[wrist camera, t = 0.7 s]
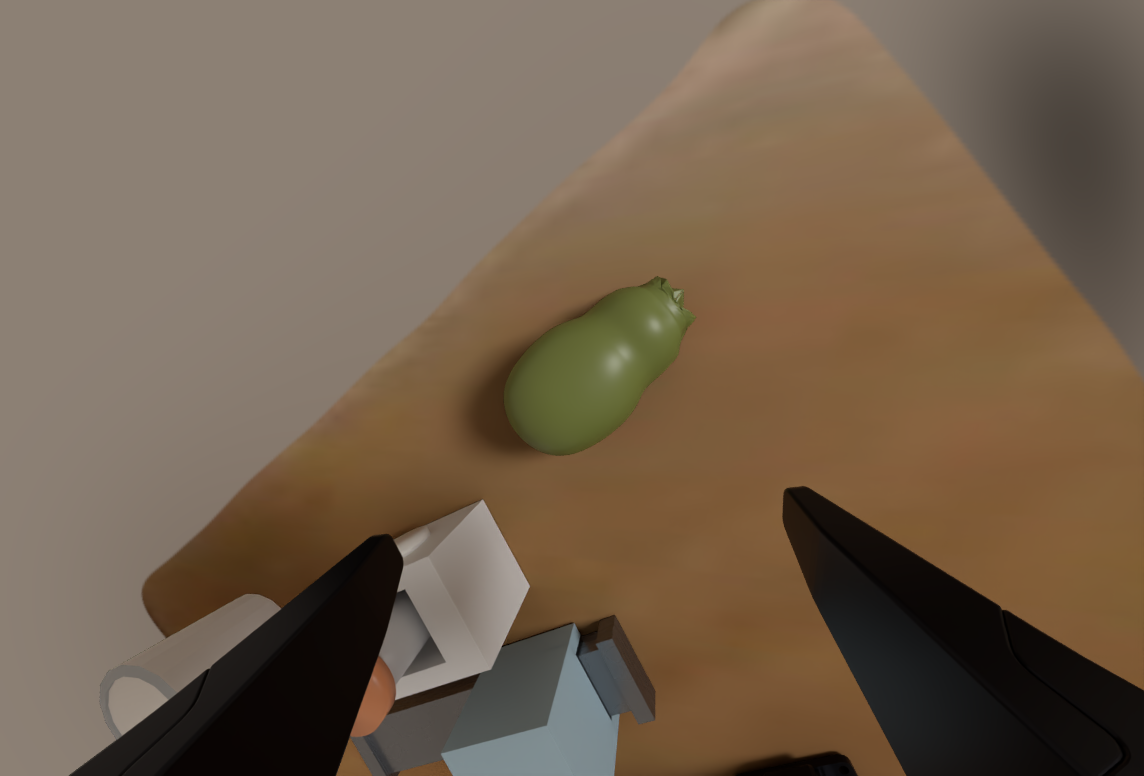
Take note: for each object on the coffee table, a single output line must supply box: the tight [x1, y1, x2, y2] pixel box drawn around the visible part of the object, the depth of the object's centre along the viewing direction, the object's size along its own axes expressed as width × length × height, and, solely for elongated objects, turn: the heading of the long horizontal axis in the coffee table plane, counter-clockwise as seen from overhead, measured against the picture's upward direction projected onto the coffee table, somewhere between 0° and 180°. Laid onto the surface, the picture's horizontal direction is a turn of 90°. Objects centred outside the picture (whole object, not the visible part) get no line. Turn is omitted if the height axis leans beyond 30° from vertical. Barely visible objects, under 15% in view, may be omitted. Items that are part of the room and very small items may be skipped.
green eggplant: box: [504, 276, 696, 456], centre depth 19 cm, size 6×5×10 cm
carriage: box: [441, 623, 619, 776], centre depth 22 cm, size 6×6×6 cm
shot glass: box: [100, 594, 281, 740], centre depth 26 cm, size 7×7×7 cm
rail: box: [350, 615, 655, 776], centre depth 25 cm, size 5×20×2 cm, turn 118°
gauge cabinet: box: [393, 499, 530, 700], centre depth 22 cm, size 6×8×6 cm
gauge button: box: [350, 589, 431, 737], centre depth 19 cm, size 4×4×6 cm
